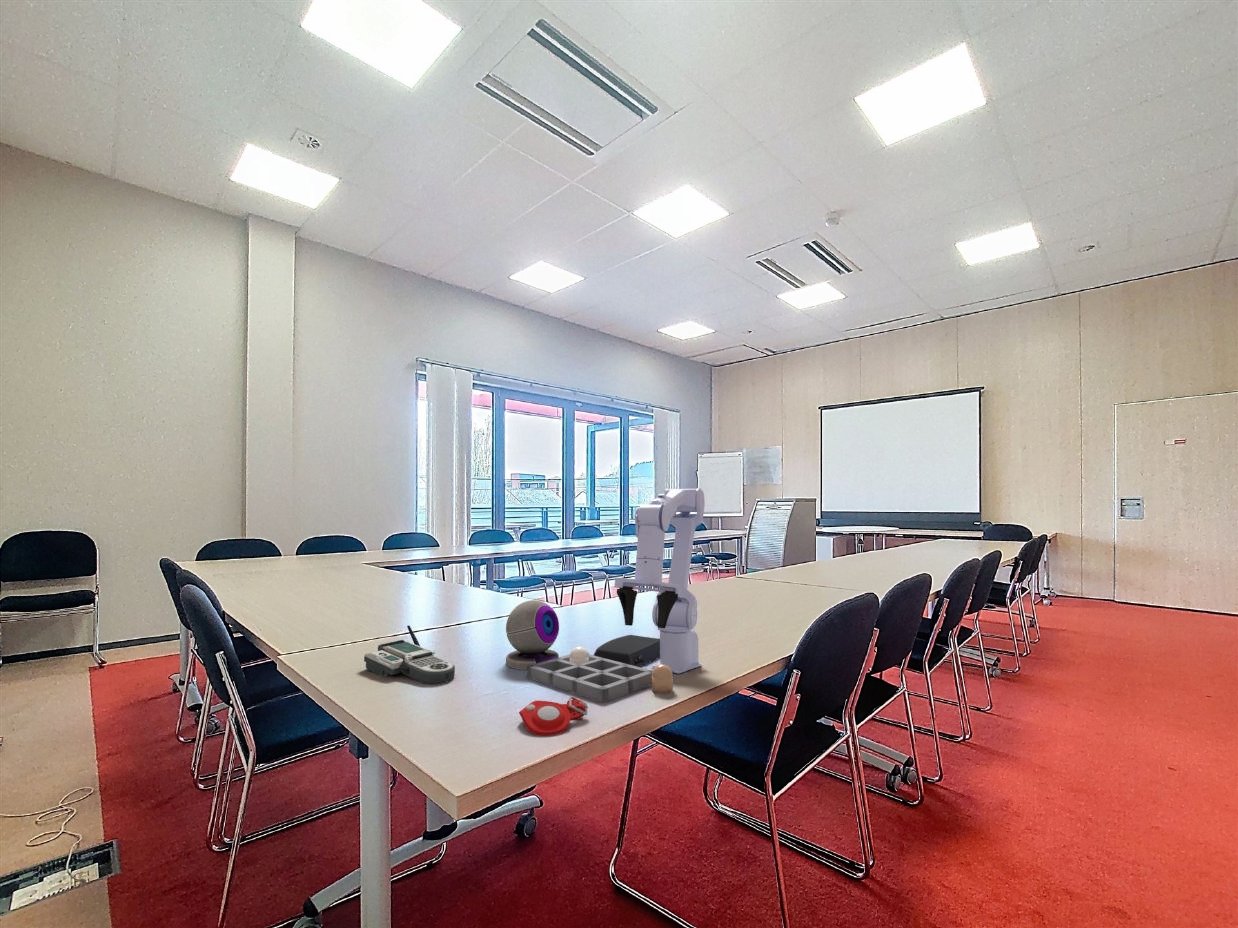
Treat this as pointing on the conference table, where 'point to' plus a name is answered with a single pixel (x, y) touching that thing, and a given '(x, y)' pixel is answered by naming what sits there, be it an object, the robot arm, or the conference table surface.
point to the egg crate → (591, 677)
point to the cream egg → (579, 655)
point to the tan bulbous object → (662, 679)
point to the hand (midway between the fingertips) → (645, 626)
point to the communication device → (409, 662)
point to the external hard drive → (630, 650)
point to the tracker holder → (552, 716)
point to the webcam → (531, 634)
